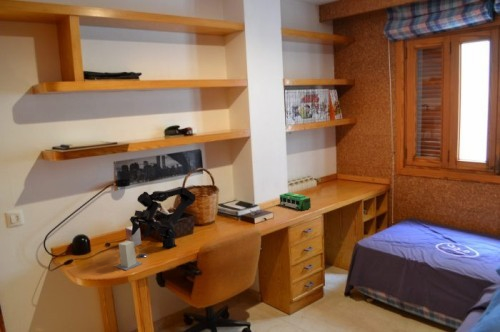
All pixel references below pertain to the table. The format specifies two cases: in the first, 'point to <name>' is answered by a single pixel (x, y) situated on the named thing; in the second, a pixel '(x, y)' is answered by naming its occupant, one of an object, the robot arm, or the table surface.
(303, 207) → the toy bus
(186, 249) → the table surface
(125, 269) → the slate mat
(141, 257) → the cable grommet
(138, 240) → the small box
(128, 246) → the sage pillar
